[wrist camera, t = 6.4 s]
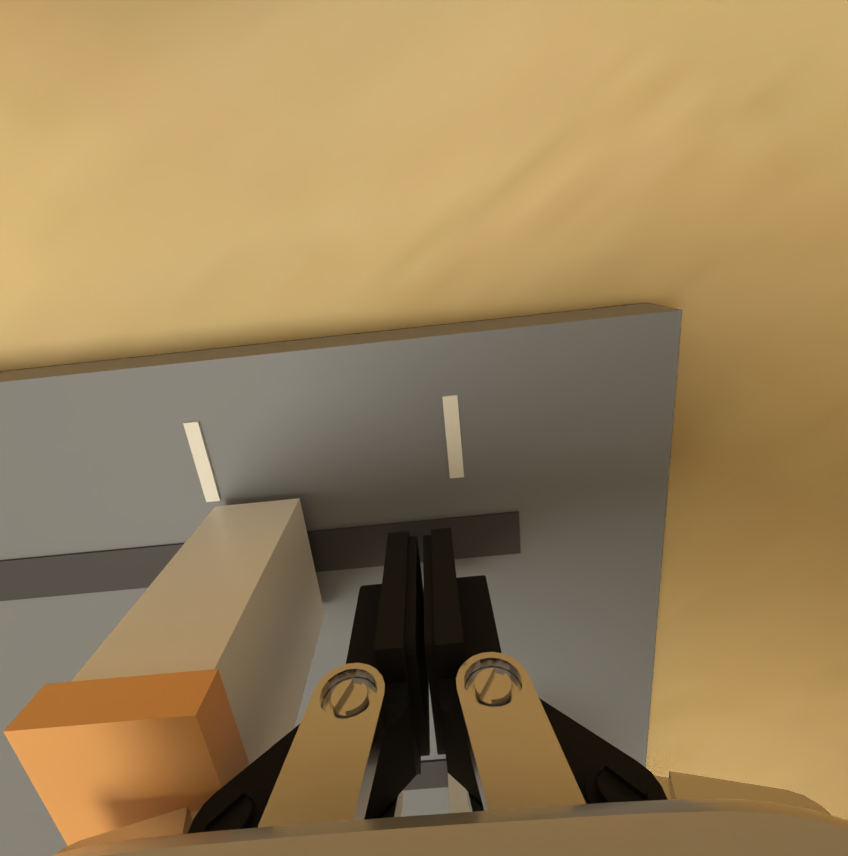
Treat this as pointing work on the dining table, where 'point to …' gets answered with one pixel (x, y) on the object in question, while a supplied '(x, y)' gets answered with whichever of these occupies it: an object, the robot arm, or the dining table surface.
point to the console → (354, 498)
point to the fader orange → (182, 678)
